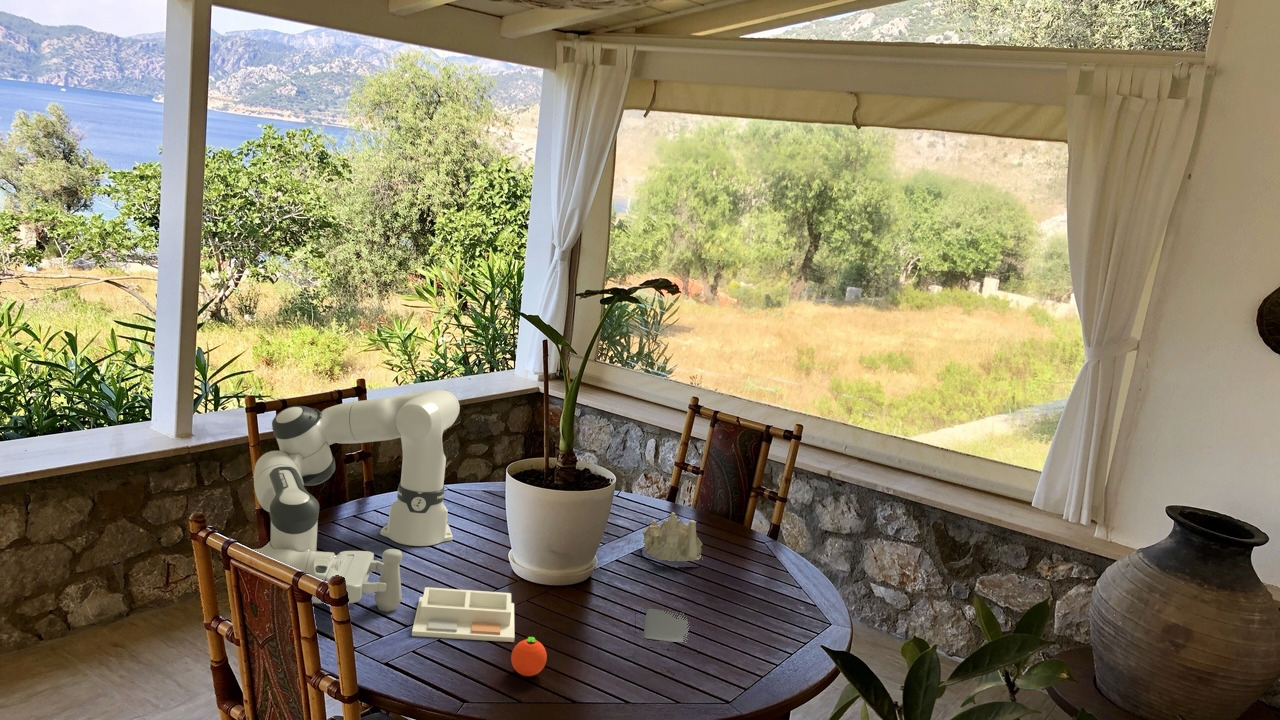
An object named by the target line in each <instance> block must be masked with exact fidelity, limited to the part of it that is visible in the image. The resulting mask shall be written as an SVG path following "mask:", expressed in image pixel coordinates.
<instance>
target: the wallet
mask: <svg viewBox="0 0 1280 720" xmlns="http://www.w3.org/2000/svg"><path fill="white" fill-rule="evenodd" d="M661 610H662V611H661ZM666 611H668V612H667V613H666ZM669 611H670V610H665V612H664V610H663V609H658V608H656V609H655V608H650V609H648V610H647V612H646V613H647V614H646V616H645V617H646V618H645V619H644V620H645V621H644V639H647V640H652V641H658V642H659V641H667V642H684V641H683V640H685V639H687V638H685V637H687V635H688V634H689V633H688V631H689V630H688V629H689V627H690V626H689V627H688V625H689V624H688V621H687V620H688V619H686V618H687V617H686V618H685V619H686V620H685V619H684V617H685V616H684V617H683V618H682V616H683V615H684V612H680V614H681V613H683V615H682V616H681V615H679V616H678V617H677V616H676V617H677V619H676V617H675V615H676V613H677V612H678V611H675V612H676V613H675V615H674V616H673V614H674V613H672V614H671V612H670V613H669ZM665 613H666V614H665ZM668 613H669V614H668ZM670 614H671V615H670ZM677 615H678V614H677ZM672 616H673V617H672ZM680 616H681V617H680ZM674 617H675V618H674ZM678 618H679V619H678ZM681 618H682V619H681ZM683 619H684V620H683ZM689 623H690V622H689ZM687 624H688V625H687ZM687 627H688V628H687ZM686 628H687V629H686ZM687 633H688V634H687ZM685 634H686V636H685ZM683 636H685V637H683ZM683 638H685V639H683ZM687 640H688V639H687ZM685 641H686V640H685ZM685 643H687V642H685Z"/></svg>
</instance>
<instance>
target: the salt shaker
mask: <svg viewBox="0 0 1280 720" xmlns="http://www.w3.org/2000/svg"><path fill="white" fill-rule="evenodd" d="M381 560H382V563H384V565H383V568H382V572H380V575H379V580H378V581H386V582H387V588H386V591H384V592H380V591H377V592H374V602H375V604H376V606H377V609H378V610H379V611H382V612H386V613H388V612H394V611H396V609H397V607H399V605H400V604H401V602H402V598H403V595H402V582H401V569H400V564H401V562H402V561H403V552H402V550H400V549H397V548H396V549H395V548H389V549H386V550H384V551H382V555H381Z"/></svg>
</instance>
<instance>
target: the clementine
mask: <svg viewBox="0 0 1280 720" xmlns="http://www.w3.org/2000/svg"><path fill="white" fill-rule="evenodd" d="M547 656H548V653H547V651H546V648H545V647H544V645H543V643H541V642H540V641H538V640H537V639H536V638H535V637H534V636H528V637H527V638H526V639H523V640H521V641H519V642H518V643H517V644H516V645H515V646H514V648H513V649H512V652H511V656H510V659H511V660H510V661H511V665H512V667H513V669H514V670H515V672H517V673H518V674H519V675H521V676H524V677H533V676H536V675H538V674H539V673H540V672H542V670H543V669H544V668H545V666H546V663H547V660H548V659H547V658H548V657H547Z"/></svg>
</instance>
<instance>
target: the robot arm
mask: <svg viewBox="0 0 1280 720" xmlns="http://www.w3.org/2000/svg"><path fill="white" fill-rule="evenodd" d="M460 406H461V405H460V402H459V400H458V398H457V397H456V395H454V393H452V392H451V391H448V390H443V389H433V390H432V389H431V390H426V391H425V390H424V391H419V392H413V393H406V394H401V395H395V396H389V397H383V398H375V399H372V398H371V399H365V400H355V401H350V402H343V403H340V404H336V405H333V406H330V407H326V408H325V409H323V410H321V411H320V410H319V409H318V408H313V407H310V406H309V407H308V406H303V405H292V406H289V407H287V408H284V409H282V410H281V411H280V412H278V413H277V414H276V415H275V417H274V418H273V419H272V421H271V426H272V427H271V428H272V429H271V430H272V433H273V436H274V438H275V439H276V442H277V444H278V447H279V449H280V450H270V451H268V452H266V453H264V454H262V455H261V456H260V457H259V458H258V459H257V461H256V463H255V467H254V471H253V487H254V492H255V496H256V499H257V501H258V503H259V505H260V507H261V508H262V509H263V510H264V511H266V512H267V513H269V516H270V541H268V543H266V545H263V547H261V548H253V550H256V551H258V552H261V553H263V554H264V555H266V556H269V557H272V558H274V559H276V560H279V561H281V562H283V563H286V564H288V565H291V566H293V567H295V568H297V569H299V570H302V571H304V572H307V573H309V574H311V575H313V576H315V577H318V578H320V579H323V580H325V581H328V580H329V579H330V578H331V577H332V576H335V575H339V576H342V577H344V578H345V580H346V586H347V592H348V598H349V603H348V604H354V603H357V602H359V601H361V597H362V596H363V594H368V595H369V594H372V593H375V592H377V591H380V592H384V591H386V588H387V582H386V581H379V580H378V581H376V582H375V581H374V582H370V581H369V580H368V579H369V577H370V574H371V572H373V573H374V572H380V573H381V572H382V568H383V565H384V562H383V561H382V562H381V561H380V560H375V559H374V558H375V553H374V552H372V551H370V550H369V551H367V550H343V551H340V552H339V553H337V555H336V554H335V552H331V551H318V550H317V549H318V548H317V543H318V521H319V520H318V519H319V513H320V503H319V501H318V499H317V498H315V496H314V495H312V494H311V493H310V492H308V490H307V489H306V488H305V486H311V487H312V486H317V485H320V484H323V483H325V482H326V481H328V480H329V479H330V478H331V477H332V475H333V474H334V473H335V471H336V461H335V457H334V455H333V454H332V451H331V448H330V445H333V444H336V443H337V444H363V443H371V442H372V443H373V442H383V441H390V440H395V439H399V438H400V440H401V449H402V464H401V474H400V475H401V476H400V482H399V484H398V488H397V496H396V497H397V499H396V501H394V502H392V504H391V505H390V507H389V515H388V522H387V524H386V525H384V527H382V528H381V530H380V532H379V535H380V536H382V537H385V538H388V539H390V540H391V541H393V542H396V543H398V544H400V545H405V546H410V547H411V546H414V547H427V546H434V545H438V544H440V543H443V542H451V541H453V538H454V537H453V536H454V535H453V533H452V530H451V528H450V525H449V520H448V514H449V513H448V511H449V510H448V508H447V506H446V505H445V504H444V500H445V495H446V493H445V492H446V491H445V486H444V483H445V482H444V481H445V474H446V464H447V457H446V455H445V452H444V447H443V434H444V431H445V430H447V429H449V428H450V427H452V425H454V423H455V421H456V420H457V419H458V416H459V415H460V409H461V407H460ZM312 603H314V604H323V603H322V602H320V601H319V600H318V599H317V598H315V597H314V598H313V602H312Z"/></svg>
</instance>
